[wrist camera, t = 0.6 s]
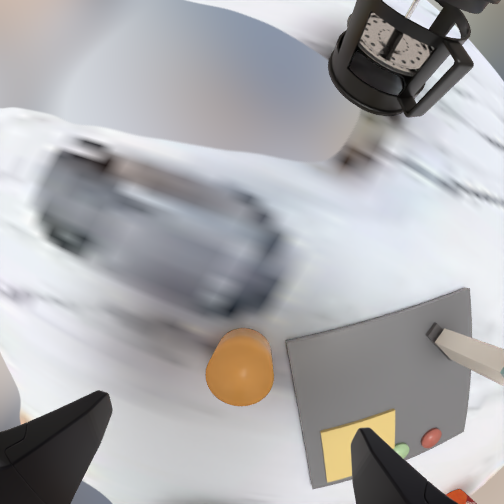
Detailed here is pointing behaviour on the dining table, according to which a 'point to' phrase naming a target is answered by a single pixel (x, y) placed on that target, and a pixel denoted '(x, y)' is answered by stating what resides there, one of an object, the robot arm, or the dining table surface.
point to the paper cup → (460, 497)
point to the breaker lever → (473, 354)
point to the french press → (402, 54)
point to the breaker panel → (381, 384)
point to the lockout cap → (241, 368)
